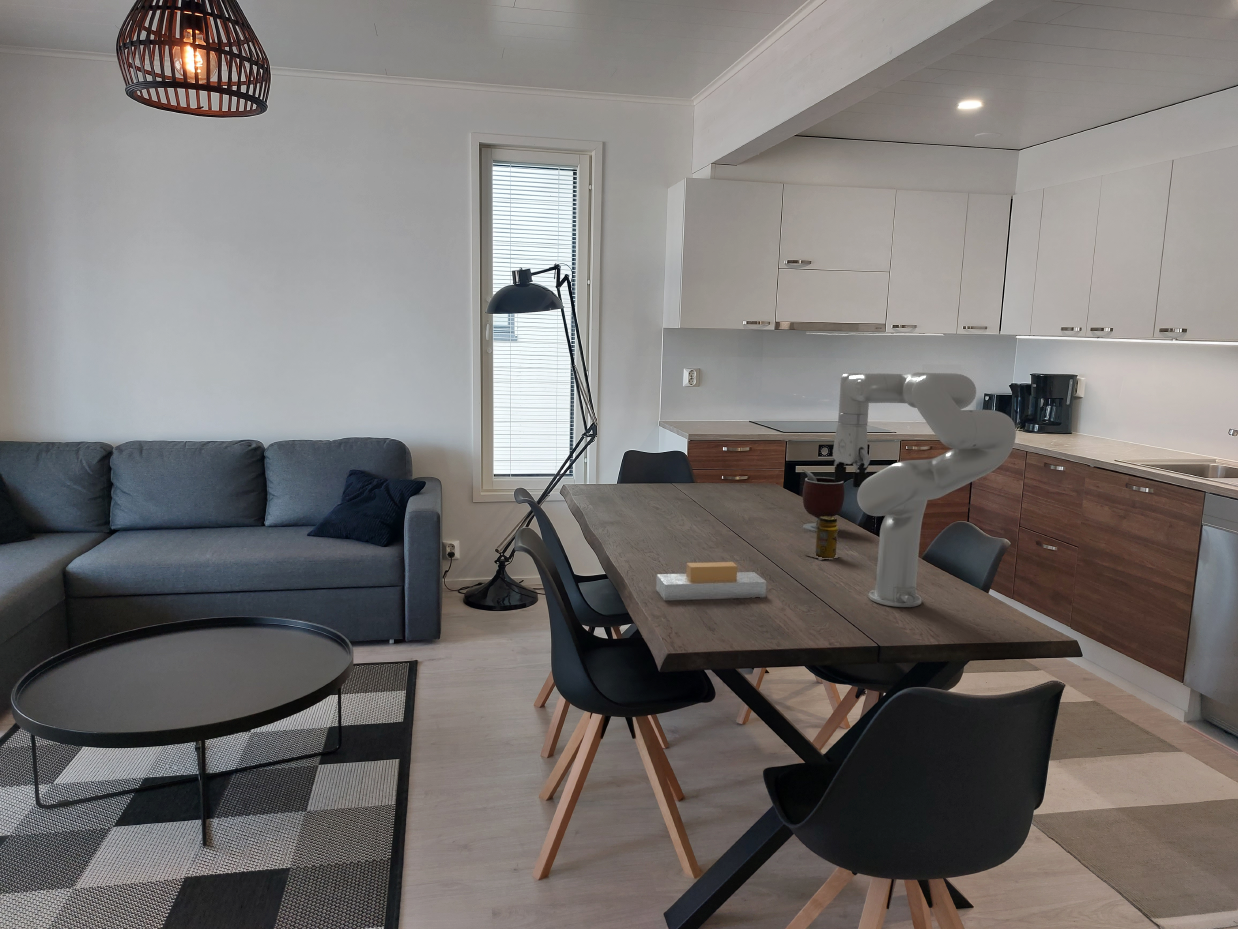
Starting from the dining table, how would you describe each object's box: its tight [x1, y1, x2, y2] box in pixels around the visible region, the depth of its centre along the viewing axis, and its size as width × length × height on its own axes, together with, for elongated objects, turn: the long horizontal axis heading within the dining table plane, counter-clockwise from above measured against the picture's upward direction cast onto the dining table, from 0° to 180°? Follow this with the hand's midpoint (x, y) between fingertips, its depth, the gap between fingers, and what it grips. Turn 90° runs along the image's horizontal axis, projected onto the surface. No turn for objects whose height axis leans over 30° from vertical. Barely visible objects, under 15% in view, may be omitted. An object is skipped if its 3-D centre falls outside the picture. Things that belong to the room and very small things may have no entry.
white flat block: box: [655, 571, 767, 601], centre depth 214 cm, size 9×26×4 cm, turn 101°
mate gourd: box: [801, 468, 845, 533], centre depth 292 cm, size 16×14×20 cm
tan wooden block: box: [685, 561, 738, 581], centre depth 214 cm, size 4×12×7 cm, turn 100°
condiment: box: [814, 516, 839, 558], centre depth 254 cm, size 7×8×12 cm
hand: (849, 484), depth 227 cm, fingers open, 9 cm apart
